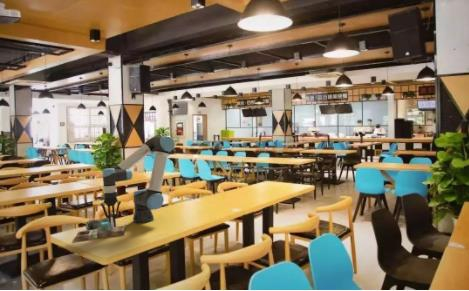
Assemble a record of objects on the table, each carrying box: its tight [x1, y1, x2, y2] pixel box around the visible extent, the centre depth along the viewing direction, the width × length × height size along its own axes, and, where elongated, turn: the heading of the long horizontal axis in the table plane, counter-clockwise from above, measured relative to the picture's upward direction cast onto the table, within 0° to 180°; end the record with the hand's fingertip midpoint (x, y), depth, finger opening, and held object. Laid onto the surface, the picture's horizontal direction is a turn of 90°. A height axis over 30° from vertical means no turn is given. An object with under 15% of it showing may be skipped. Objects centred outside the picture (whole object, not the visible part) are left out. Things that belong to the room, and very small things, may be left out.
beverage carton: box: [85, 217, 117, 231], centre depth 252 cm, size 8×19×7 cm, turn 124°
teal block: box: [101, 222, 110, 227], centre depth 235 cm, size 5×5×5 cm
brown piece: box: [75, 218, 126, 242], centre depth 234 cm, size 29×12×9 cm, turn 106°
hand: (112, 227), depth 236 cm, fingers closed
